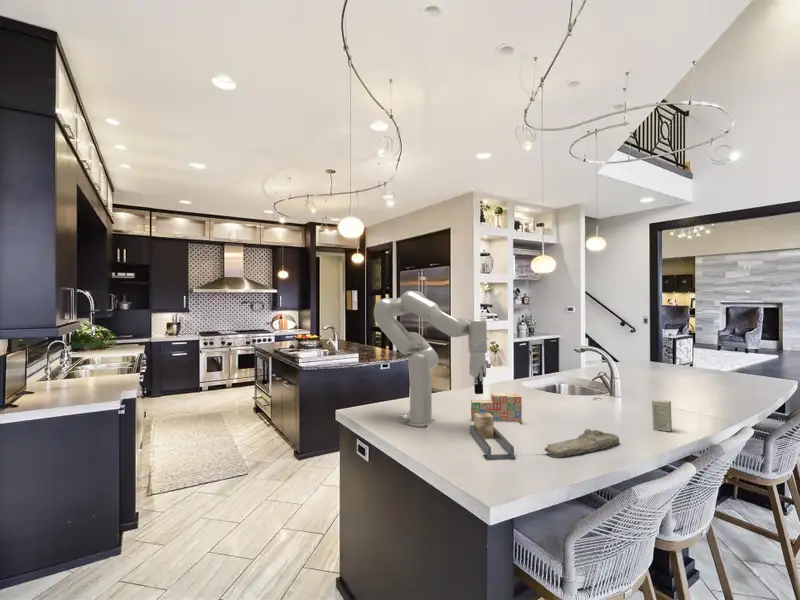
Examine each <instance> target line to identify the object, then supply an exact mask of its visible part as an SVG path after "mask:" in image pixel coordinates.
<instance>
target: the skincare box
mask: <svg viewBox="0 0 800 600" xmlns="http://www.w3.org/2000/svg"><path fill="white" fill-rule="evenodd" d="M651 406H652V407H651V409H652V411H651V413H652V415H651V416H652V430H653V429H657V430H656V431H659V430H662V431H661V432H665V431H669V432H668V433H670V431H671V430H672V431H673V423H672V420H673V419H672V401H671V400H667V399H656V398H654V399H651ZM672 431H671V432H672Z"/></svg>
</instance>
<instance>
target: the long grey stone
mask: <svg viewBox="0 0 800 600" xmlns="http://www.w3.org/2000/svg"><path fill="white" fill-rule="evenodd" d="M619 443H620V437H619V436H618V435H617V434H614V433H608V432H603V431H602V430H598V429H595V430H591V429H590V428H587V429H585V430H584V431H583V433H582V434H580V435H579V436H578V437H576V438H571V439H567V440H563V441H559V442H554V443H552V444H551V443H550V444H549V443H548V444H547V446H546V447H544V451H546V453H545V454H546V455H547V456H548V457H550V458H554V457H555V458H554V459H560V458H563V457H571V455H573V456H579V455H578V454H580V455H582V454H581V453H584V454H587V453H586V452H589V453H593V452H595V451H600V450H601V449H602V450H605V449H607V447H608V448H611V447H610V446H613V447H614V446H615V445H617V444H619ZM604 448H605V449H604ZM599 449H600V450H599ZM558 457H559V458H558Z"/></svg>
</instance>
